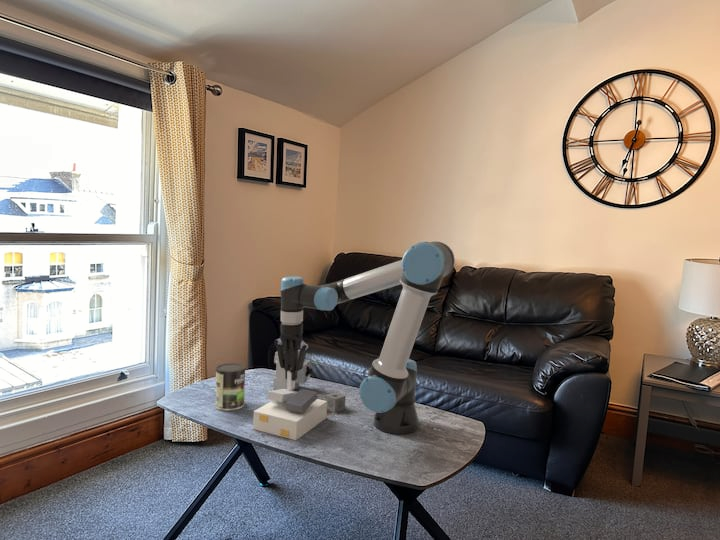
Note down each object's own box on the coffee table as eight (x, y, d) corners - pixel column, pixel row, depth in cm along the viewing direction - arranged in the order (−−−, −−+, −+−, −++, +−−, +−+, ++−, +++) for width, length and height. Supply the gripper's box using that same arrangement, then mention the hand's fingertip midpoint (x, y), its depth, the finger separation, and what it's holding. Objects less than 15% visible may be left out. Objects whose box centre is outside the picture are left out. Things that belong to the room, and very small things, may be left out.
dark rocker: (317, 398, 165) (317, 392, 164) (301, 413, 156) (301, 406, 155) (301, 395, 167) (301, 388, 167) (285, 409, 158) (285, 402, 158)
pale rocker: (297, 399, 169) (298, 391, 169) (281, 402, 160) (282, 394, 160) (282, 395, 171) (283, 388, 171) (266, 398, 162) (267, 391, 162)
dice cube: (325, 408, 179) (326, 395, 178) (335, 405, 182) (335, 392, 182) (334, 412, 175) (335, 399, 175) (344, 409, 179) (345, 396, 178)
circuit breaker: (307, 393, 192) (309, 356, 191) (273, 389, 195) (274, 352, 194) (313, 387, 200) (314, 351, 198) (280, 383, 203) (281, 347, 201)
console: (326, 417, 170) (327, 397, 169) (295, 440, 152) (296, 418, 151) (286, 408, 177) (287, 389, 176) (252, 429, 158) (253, 407, 157)
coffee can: (249, 402, 180) (251, 365, 179) (234, 412, 171) (235, 373, 169) (225, 398, 183) (226, 361, 182) (208, 407, 174) (209, 369, 172)
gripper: (314, 322, 168) (312, 388, 171) (281, 317, 173) (281, 381, 176) (302, 327, 161) (301, 396, 164) (269, 322, 166) (268, 388, 170)
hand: (290, 388), depth 170 cm, fingers closed
